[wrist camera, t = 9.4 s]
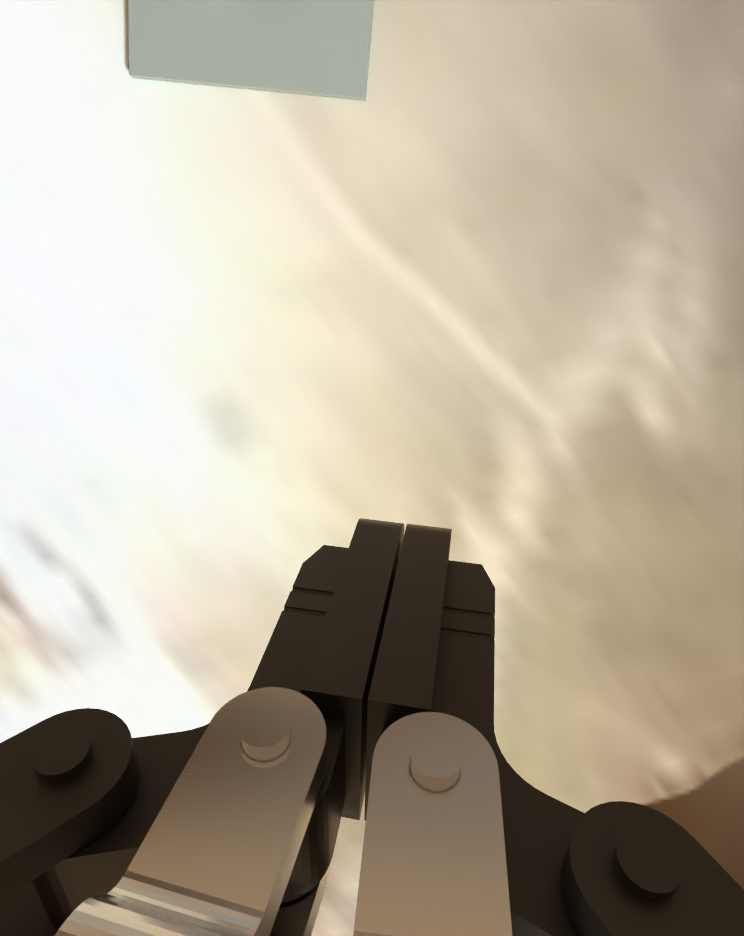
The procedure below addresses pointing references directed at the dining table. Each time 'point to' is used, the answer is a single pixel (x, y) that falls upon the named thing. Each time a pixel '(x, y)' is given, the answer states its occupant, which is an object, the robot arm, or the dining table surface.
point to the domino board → (254, 44)
